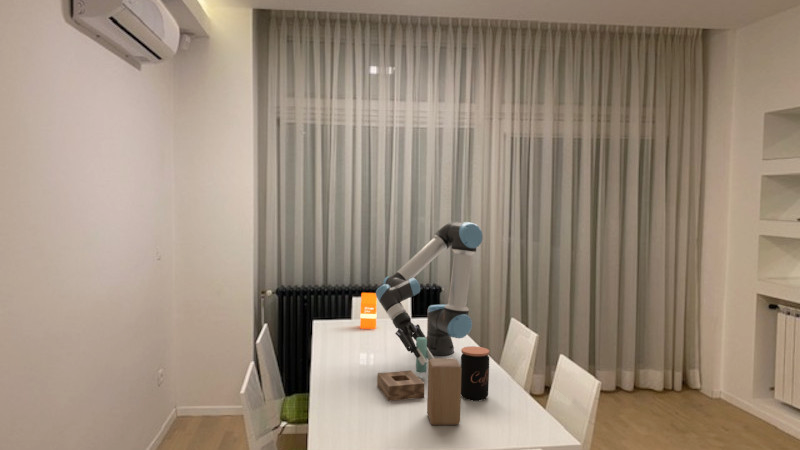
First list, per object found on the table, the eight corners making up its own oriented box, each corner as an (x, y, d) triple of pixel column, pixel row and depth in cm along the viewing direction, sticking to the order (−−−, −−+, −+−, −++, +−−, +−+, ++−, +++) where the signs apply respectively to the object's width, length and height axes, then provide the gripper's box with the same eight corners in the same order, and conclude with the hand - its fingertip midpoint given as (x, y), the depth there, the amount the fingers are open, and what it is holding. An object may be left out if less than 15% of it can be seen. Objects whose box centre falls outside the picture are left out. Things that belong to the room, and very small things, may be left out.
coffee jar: (470, 403, 206) (471, 355, 205) (454, 394, 215) (455, 348, 215) (493, 399, 211) (495, 352, 210) (477, 390, 220) (478, 345, 219)
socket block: (410, 383, 226) (410, 370, 226) (424, 397, 211) (424, 383, 210) (377, 386, 222) (377, 373, 221) (388, 400, 206) (388, 386, 206)
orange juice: (375, 328, 319) (376, 294, 318) (360, 328, 319) (360, 293, 318) (376, 325, 327) (377, 291, 326) (361, 325, 327) (361, 291, 326)
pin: (424, 369, 237) (424, 336, 236) (428, 372, 233) (428, 339, 232) (414, 370, 236) (414, 337, 235) (418, 373, 231) (418, 340, 231)
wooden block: (426, 414, 194) (428, 357, 194) (455, 414, 195) (456, 357, 194) (430, 426, 185) (432, 366, 184) (460, 425, 185) (462, 366, 184)
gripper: (407, 318, 250) (436, 362, 240) (380, 325, 237) (409, 371, 227) (416, 308, 246) (446, 352, 236) (389, 314, 233) (419, 361, 223)
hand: (428, 361), depth 231 cm, fingers closed on pin, 4 cm apart
